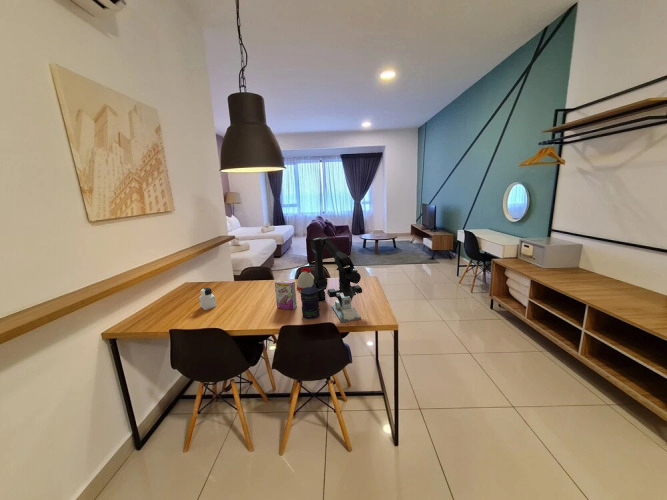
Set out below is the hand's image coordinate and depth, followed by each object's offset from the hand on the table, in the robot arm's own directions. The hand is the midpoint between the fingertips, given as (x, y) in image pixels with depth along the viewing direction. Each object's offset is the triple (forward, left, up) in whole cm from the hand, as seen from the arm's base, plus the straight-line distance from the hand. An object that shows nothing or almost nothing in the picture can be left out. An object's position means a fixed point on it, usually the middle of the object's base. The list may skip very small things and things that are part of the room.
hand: (345, 305), depth 150 cm
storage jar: (-19, +4, -5) cm, 20 cm away
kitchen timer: (-14, +50, -5) cm, 52 cm away
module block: (0, 0, -2) cm, 2 cm away
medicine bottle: (-78, +38, -5) cm, 87 cm away
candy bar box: (-31, +19, -5) cm, 37 cm away
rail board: (0, 0, -4) cm, 4 cm away
